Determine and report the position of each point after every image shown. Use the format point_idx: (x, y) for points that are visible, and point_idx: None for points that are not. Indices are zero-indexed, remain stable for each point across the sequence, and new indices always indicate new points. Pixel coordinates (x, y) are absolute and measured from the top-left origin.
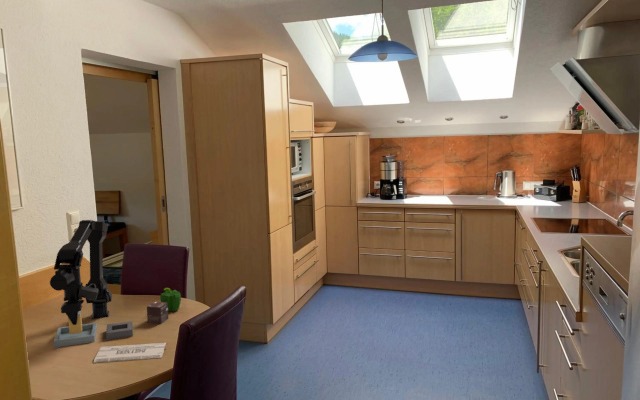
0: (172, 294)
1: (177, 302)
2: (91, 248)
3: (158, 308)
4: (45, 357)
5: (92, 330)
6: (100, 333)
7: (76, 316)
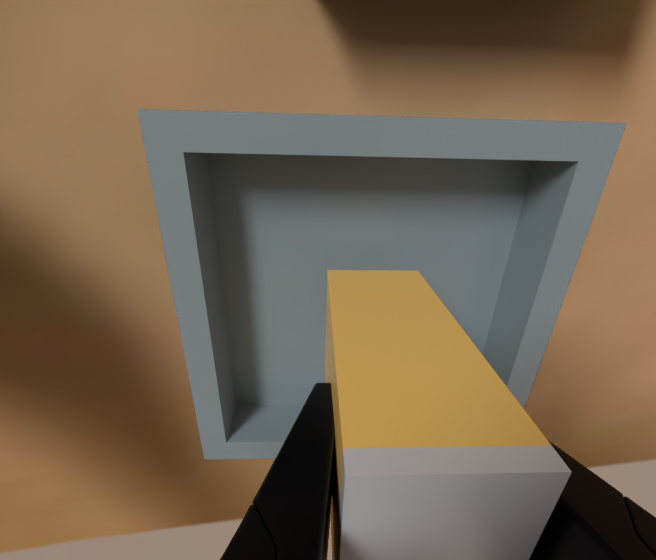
0: None
1: None
2: None
3: None
4: (589, 429)
5: (430, 152)
6: (311, 67)
7: (628, 514)
